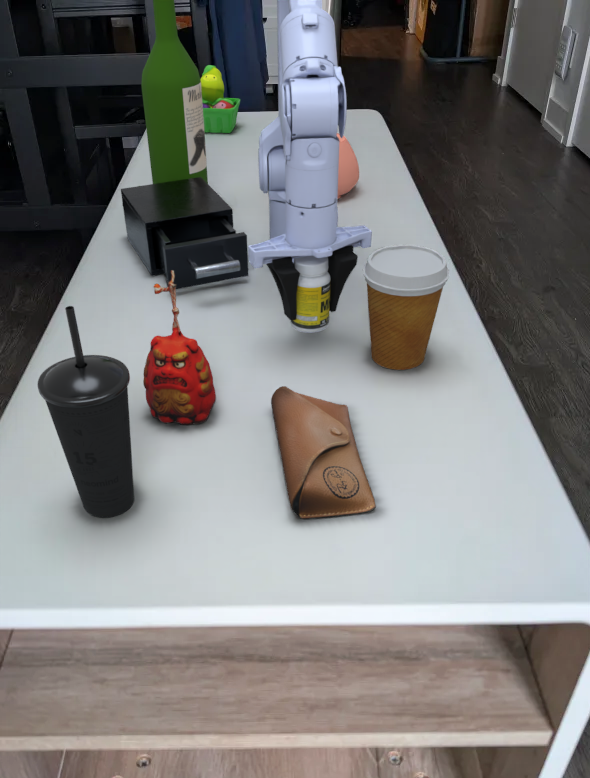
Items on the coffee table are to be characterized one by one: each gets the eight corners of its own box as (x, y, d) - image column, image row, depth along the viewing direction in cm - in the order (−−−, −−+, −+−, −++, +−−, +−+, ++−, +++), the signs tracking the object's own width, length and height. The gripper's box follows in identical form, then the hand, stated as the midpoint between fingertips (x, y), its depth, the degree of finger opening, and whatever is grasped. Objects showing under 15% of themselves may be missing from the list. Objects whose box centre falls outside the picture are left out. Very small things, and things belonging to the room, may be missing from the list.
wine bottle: (197, 223, 128) (177, -18, 106) (147, 217, 130) (117, -20, 109) (218, 203, 134) (203, -28, 113) (169, 198, 136) (146, -30, 115)
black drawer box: (235, 260, 117) (232, 208, 112) (151, 275, 113) (145, 223, 108) (204, 225, 127) (201, 176, 122) (127, 238, 124) (120, 188, 119)
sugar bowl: (355, 205, 132) (358, 140, 126) (272, 202, 134) (271, 138, 127) (361, 180, 141) (364, 118, 135) (283, 177, 143) (282, 116, 136)
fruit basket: (181, 134, 164) (175, 73, 157) (191, 121, 171) (186, 62, 163) (235, 135, 163) (232, 74, 155) (243, 123, 169) (241, 63, 162)
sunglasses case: (383, 508, 74) (349, 462, 70) (317, 542, 75) (281, 499, 71) (346, 402, 87) (316, 358, 83) (292, 433, 89) (260, 392, 85)
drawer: (260, 289, 107) (259, 248, 104) (179, 305, 104) (175, 263, 101) (217, 240, 120) (215, 201, 116) (144, 253, 117) (139, 213, 113)
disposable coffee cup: (444, 343, 97) (457, 248, 89) (429, 383, 91) (442, 284, 83) (368, 332, 100) (374, 238, 92) (348, 370, 93) (353, 272, 85)
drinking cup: (72, 479, 79) (27, 289, 65) (149, 473, 79) (121, 284, 66) (63, 530, 73) (12, 334, 60) (147, 525, 73) (115, 328, 60)
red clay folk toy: (141, 426, 85) (121, 296, 75) (157, 391, 90) (140, 265, 81) (211, 431, 84) (200, 299, 74) (223, 395, 89) (214, 268, 80)
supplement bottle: (326, 335, 95) (328, 268, 90) (287, 332, 96) (286, 265, 90) (331, 316, 99) (334, 251, 93) (294, 313, 100) (294, 248, 94)
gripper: (262, 222, 83) (265, 339, 92) (387, 201, 86) (378, 315, 95) (239, 199, 88) (244, 312, 97) (358, 180, 91) (352, 291, 100)
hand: (309, 312), depth 96 cm, fingers closed on supplement bottle, 5 cm apart
